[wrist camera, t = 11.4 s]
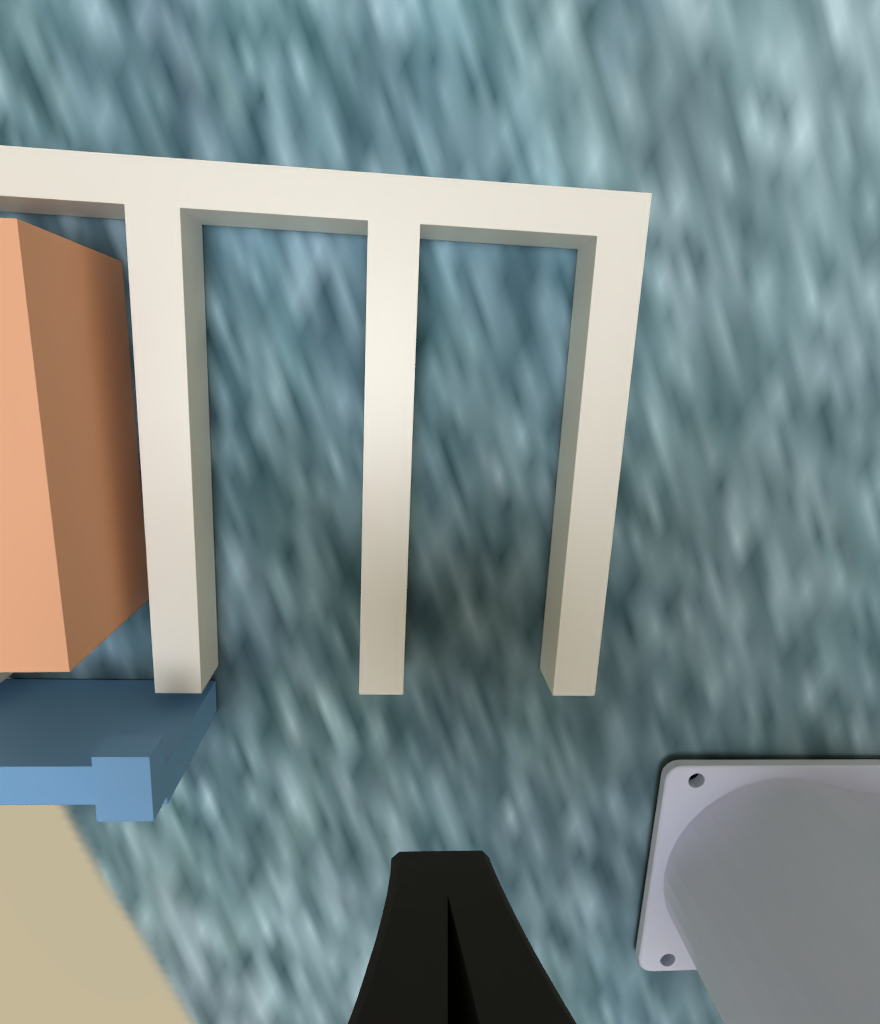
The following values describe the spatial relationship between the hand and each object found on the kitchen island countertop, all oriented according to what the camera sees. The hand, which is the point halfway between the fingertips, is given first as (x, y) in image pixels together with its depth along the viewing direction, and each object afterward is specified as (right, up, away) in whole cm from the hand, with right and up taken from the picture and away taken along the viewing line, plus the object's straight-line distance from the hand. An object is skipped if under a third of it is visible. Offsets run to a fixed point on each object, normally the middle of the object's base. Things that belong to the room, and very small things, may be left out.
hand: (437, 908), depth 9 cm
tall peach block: (-10, +8, +7) cm, 14 cm away
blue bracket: (-10, 0, +9) cm, 13 cm away
